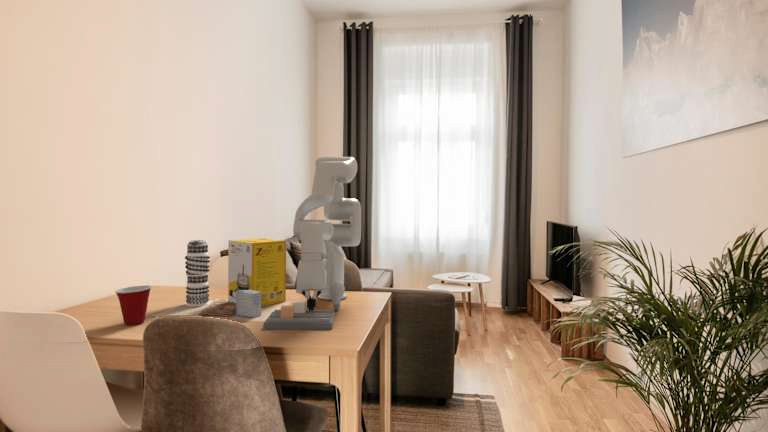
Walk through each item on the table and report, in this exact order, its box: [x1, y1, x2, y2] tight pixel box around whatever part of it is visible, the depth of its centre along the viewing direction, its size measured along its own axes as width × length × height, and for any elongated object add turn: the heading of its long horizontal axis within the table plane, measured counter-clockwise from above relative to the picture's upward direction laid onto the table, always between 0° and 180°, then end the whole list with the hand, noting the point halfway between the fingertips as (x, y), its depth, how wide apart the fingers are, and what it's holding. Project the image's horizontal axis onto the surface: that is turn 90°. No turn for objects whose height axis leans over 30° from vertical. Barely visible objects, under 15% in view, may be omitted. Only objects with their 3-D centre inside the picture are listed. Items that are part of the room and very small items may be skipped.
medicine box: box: [235, 290, 262, 318], centre depth 165 cm, size 8×4×9 cm, turn 65°
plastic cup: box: [114, 285, 153, 326], centre depth 152 cm, size 11×11×12 cm
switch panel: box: [263, 309, 336, 330], centre depth 156 cm, size 15×22×3 cm
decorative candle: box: [184, 239, 211, 308], centre depth 180 cm, size 9×9×25 cm
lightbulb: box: [329, 281, 346, 311], centre depth 174 cm, size 6×6×11 cm
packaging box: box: [227, 237, 287, 307], centre depth 186 cm, size 16×16×25 cm
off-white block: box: [292, 300, 307, 313], centre depth 159 cm, size 3×4×4 cm
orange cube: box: [280, 304, 294, 318], centre depth 152 cm, size 3×4×4 cm
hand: (311, 309), depth 159 cm, fingers closed
